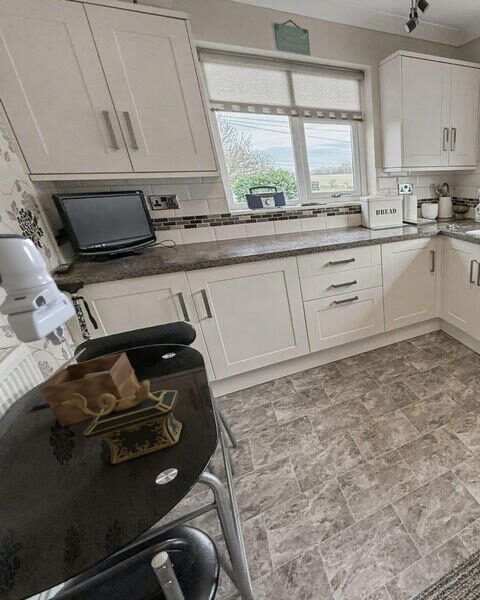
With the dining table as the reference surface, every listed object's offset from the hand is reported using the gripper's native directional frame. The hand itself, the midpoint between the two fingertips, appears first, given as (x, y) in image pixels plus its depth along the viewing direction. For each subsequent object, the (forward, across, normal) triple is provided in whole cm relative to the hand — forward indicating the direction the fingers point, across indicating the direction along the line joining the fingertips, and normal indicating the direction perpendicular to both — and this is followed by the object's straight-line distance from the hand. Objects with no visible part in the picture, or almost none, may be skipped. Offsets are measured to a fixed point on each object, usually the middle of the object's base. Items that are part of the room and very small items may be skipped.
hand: (60, 342), depth 90 cm
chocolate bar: (+22, -13, -8) cm, 27 cm away
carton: (+22, 0, +2) cm, 22 cm away
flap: (+7, 0, -2) cm, 7 cm away
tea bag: (+22, 0, +4) cm, 22 cm away
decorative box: (+22, +27, +18) cm, 39 cm away
